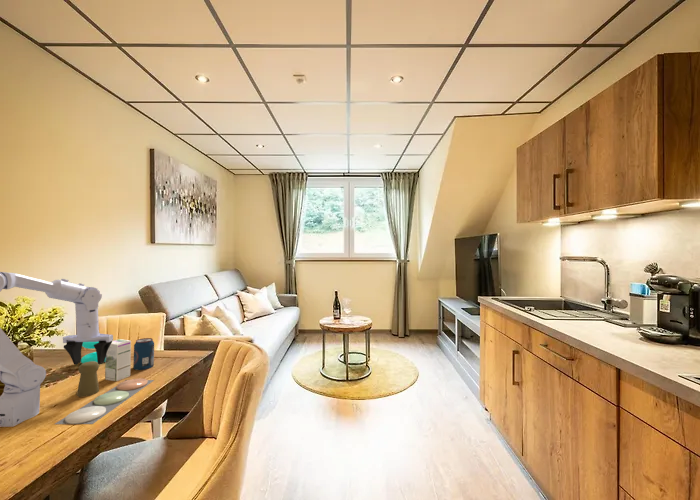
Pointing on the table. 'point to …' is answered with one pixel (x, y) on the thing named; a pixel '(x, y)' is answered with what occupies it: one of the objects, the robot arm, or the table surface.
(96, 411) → the white dome knob
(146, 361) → the soda can
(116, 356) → the syrup box
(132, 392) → the grey board
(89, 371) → the cork
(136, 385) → the peach dome knob
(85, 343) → the donuts
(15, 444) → the table surface
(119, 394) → the pale green dome knob
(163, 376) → the table surface
